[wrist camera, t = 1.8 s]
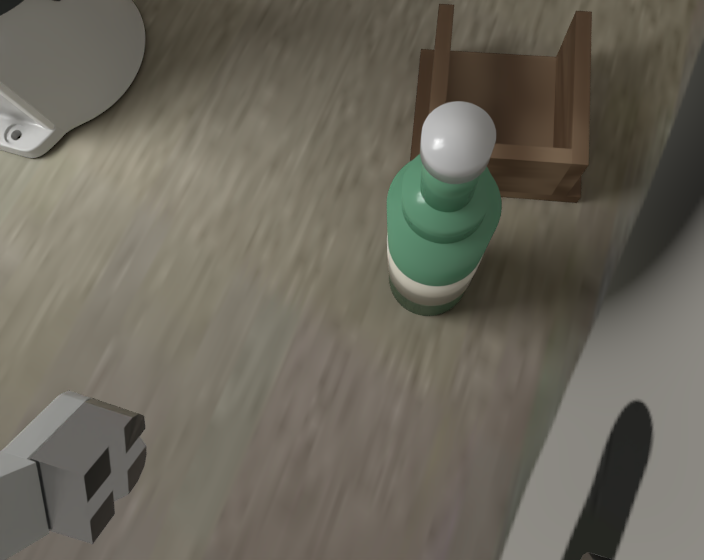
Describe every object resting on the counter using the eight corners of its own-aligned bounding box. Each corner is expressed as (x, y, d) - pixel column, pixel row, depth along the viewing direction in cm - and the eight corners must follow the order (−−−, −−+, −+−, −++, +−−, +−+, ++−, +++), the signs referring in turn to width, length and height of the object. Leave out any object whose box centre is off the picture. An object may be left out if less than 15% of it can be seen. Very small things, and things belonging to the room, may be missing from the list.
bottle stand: (407, 189, 44) (409, 151, 38) (420, 57, 46) (424, 3, 41) (576, 202, 43) (605, 166, 37) (580, 66, 45) (607, 12, 40)
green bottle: (384, 312, 42) (375, 198, 22) (392, 237, 43) (390, 63, 23) (464, 320, 41) (532, 211, 21) (469, 244, 42) (538, 72, 22)
